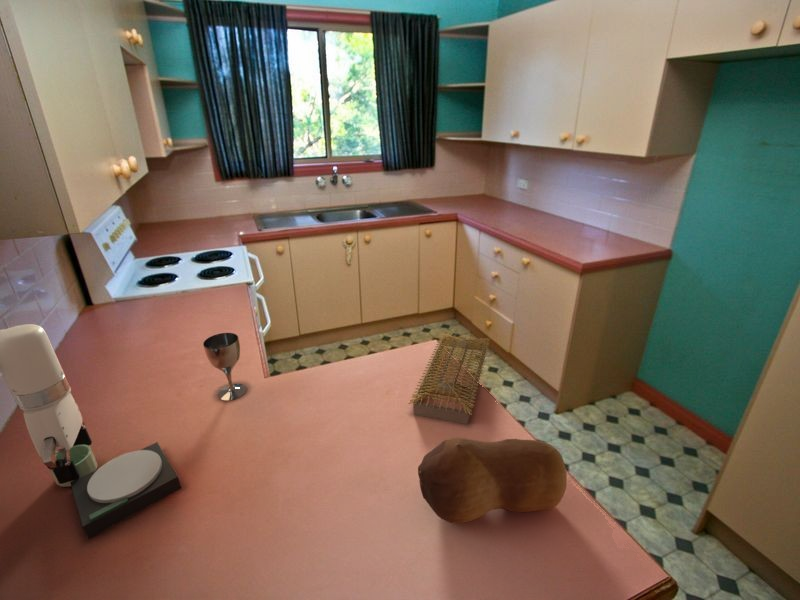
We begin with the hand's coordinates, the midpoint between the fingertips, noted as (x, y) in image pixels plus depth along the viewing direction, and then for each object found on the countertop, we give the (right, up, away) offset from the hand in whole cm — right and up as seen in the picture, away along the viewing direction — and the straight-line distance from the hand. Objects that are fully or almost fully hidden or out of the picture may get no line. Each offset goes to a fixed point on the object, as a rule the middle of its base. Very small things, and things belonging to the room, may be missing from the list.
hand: (77, 462), depth 84 cm
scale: (+12, -4, -3) cm, 13 cm away
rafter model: (+78, +11, +28) cm, 83 cm away
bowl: (0, -3, +1) cm, 3 cm away
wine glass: (+21, +8, +25) cm, 34 cm away
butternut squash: (+67, +1, -11) cm, 67 cm away
